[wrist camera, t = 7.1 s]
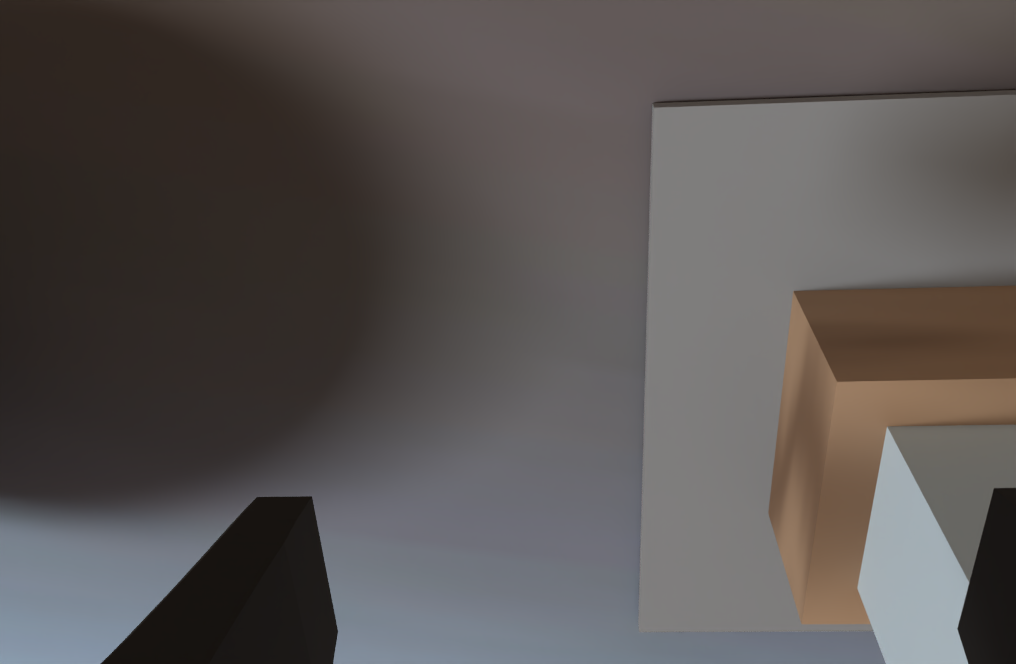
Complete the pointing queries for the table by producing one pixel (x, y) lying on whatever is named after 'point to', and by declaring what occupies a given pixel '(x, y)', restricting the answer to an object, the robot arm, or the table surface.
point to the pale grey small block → (929, 534)
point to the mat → (785, 303)
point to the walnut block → (873, 415)
